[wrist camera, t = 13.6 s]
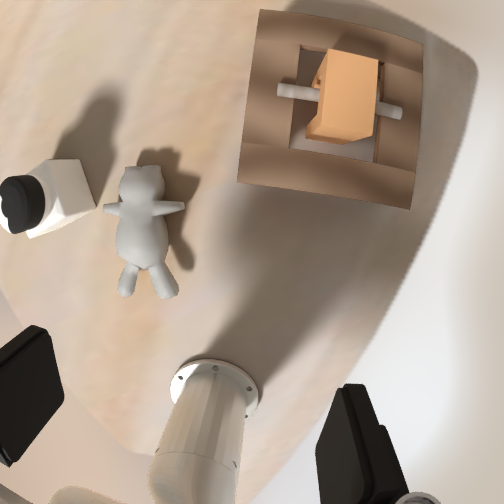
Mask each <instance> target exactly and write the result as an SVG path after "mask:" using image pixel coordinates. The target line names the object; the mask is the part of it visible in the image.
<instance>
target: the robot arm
mask: <svg viewBox="0 0 504 504" xmlns="http://www.w3.org/2000/svg"><path fill="white" fill-rule="evenodd" d="M171 396H172V399H173V401H174V403H175V404H174V407H173V409H172V412H171V414H170V417H169V419H168V422H167V424H166V427H165V430H164V432H163V435H162V437H161V440H160V442H159V445H158V447H157V450H156V452H155V455H154V458H153V460H152V463H151V465H150V469H149V471H148V477H147V482H148V488H149V492H150V495H151V497H152V499H153V501H154V503H155V504H235V500H236V492H237V483H238V475H239V467H240V459H241V450H242V442H243V433H244V424H245V421H246V420H248V419H249V418H250V417H251V416H252V415H253V414H254V412H255V411H256V409H257V405H258V398H259V397H258V390H257V387H256V384H255V383H254V381H253V380H252V378H251V377H250V376H249V375H248V374H247V373H246V372H244V371H243V370H242V369H240V368H239V367H237V366H235V365H233V364H230V363H228V362H225V361H220V360H215V359H202V360H196V361H192V362H189V363H187V364H186V365H184V366H182V367H181V368H180V369H179V370H178V371H177V372H176V374H175V375H174V378H173V380H172V382H171ZM63 401H64V391H63V388H62V384H61V380H60V376H59V372H58V367H57V363H56V358H55V354H54V349H53V344H52V339H51V336H50V335H49V334H48V331H47V330H46V329H44V328H41V327H38V326H35V325H31V326H29V327H28V328H26V329H25V330H24V331H22V332H21V333H20V334H19V335H17V336H16V337H15V338H13V339H12V340H11V341H9V342H8V343H7V344H5V345H4V346H3V347H2V348H0V462H1V463H3V464H4V465H6V466H8V467H10V466H11V465H12V464H13V462H17V461H18V460H19V459H20V457H21V456H22V455H23V453H24V452H25V451H26V449H27V448H28V447H29V445H30V444H31V443H32V441H33V440H34V439H35V438H36V436H37V435H38V434H39V432H40V431H41V430H42V429H43V427H44V426H45V425H46V424H47V422H48V421H49V420H50V418H51V417H52V416H53V414H54V413H55V412H56V411H57V410H58V408H59V407H60V406H61V405H62V403H63ZM315 451H316V452H315V456H316V465H317V474H318V483H319V491H320V502H321V504H441V503H440V502H439V501H438V500H437V499H436V498H435V497H433V496H432V495H430V494H427V493H423V492H413V493H409V490H408V487H407V484H406V481H405V478H404V475H403V472H402V470H401V467H400V464H399V461H398V458H397V456H396V453H395V450H394V447H393V445H392V442H391V439H390V436H389V434H388V431H387V429H386V427H385V426H384V425H379V422H378V420H377V417H376V414H375V411H374V409H373V406H372V403H371V401H370V398H369V395H368V393H367V390H366V387H365V386H364V385H363V384H345V385H344V386H343V388H338V389H337V391H336V394H335V397H334V399H333V402H332V405H331V408H330V411H329V413H328V416H327V419H326V422H325V424H324V427H323V429H322V432H321V435H320V437H319V440H318V442H317V445H316V450H315ZM0 504H33V503H31V502H29V501H27V500H25V499H24V498H22V497H20V496H19V495H17V494H16V493H14V492H13V491H11V490H9V489H8V488H6V487H5V486H3V485H2V484H0ZM49 504H125V503H123V502H120V501H117V500H115V499H112V498H110V497H107V496H104V495H101V494H99V493H97V492H94V491H92V490H89V489H86V488H82V487H78V486H68V487H64V488H62V489H60V490H59V491H57V492H56V493H55V494H54V495H53V497H52V498H51V500H50V502H49Z"/></svg>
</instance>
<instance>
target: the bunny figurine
mask: <svg viewBox="0 0 504 504" xmlns="http://www.w3.org/2000/svg"><path fill="white" fill-rule="evenodd" d="M119 194H120V197H121V199H122V201H123V202H116V203H110V204H104V205H103V212H106V213H109V214H112V215H115V216H118V217H121V218H120V221H119V224H118V226H117V232H116V249H117V254H118V255H120V256H121V257H122V258H123V259H125V260H126V261H127V262H126V265H125V267H124V269H123V272H122V274H121V277H120V279H119V282H118V289H117V290H118V292H119V294H120V295H122V296H124V297H128V296H131V295H132V294H133V292H134V289H135V285H136V280H137V275H138V271H139V268H141V269H144V270H145V269H148V271H149V274H150V277H151V280H152V283H153V286H154V288H155V291H156V293H157V295H158V296H159V297H160V298H162V299H169V298H172V297H174V296H176V295H177V294H178V292H179V287H178V284H177V282H176V280H175V279H174V277H173V275H172V274H171V272H170V270H169V269H168V267H167V265H166V264H165V259H166V255H167V252H168V246H169V237H168V229H167V224H166V221H165V219H164V217H163V216H164V215H168V214H171V213H174V212H177V211H180V210H184V209H185V206H184V202H177V201H162V199H163V196H164V194H165V181H164V178H163V175H162V173H161V166H159V165H145V166H143V167H139V166H132V167H125V173H124V175H123V177H122V178H121V181H120V184H119Z"/></svg>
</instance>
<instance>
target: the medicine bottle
mask: <svg viewBox="0 0 504 504" xmlns="http://www.w3.org/2000/svg"><path fill="white" fill-rule="evenodd" d="M95 208H96V205H95V203H94V200H93V197H92V194H91V192H90V189H89V186H88V183H87V180H86V177H85V174H84V171H83V168H82V165H81V162H80V160H79V159H47V160H45V161H44V162H42V163H41V164H40V165H38V166H37V167H36V168H34V169H33V170H32V171H30V172H29V173H28V174H26V175H21V176H11V177H8V178H6V179H5V180H4V181H3V182H2V184H1V185H0V223H1V225H2V226H3V227H4V228H5V229H6V230H7V231H8V232H10V233H13V234H17V233H21V232H24V231H26V232H27V235H28V237H29V238H34V237H36V236H39V235H42V234H45V233H48V232H51V231H54V230H56V229H59V228H62V227H63V226H65V225H67V224H69V223H71V222H72V221H74V220H76V219H78V218H80V217H82V216H83V215H85V214H87V213H89V212H91V211H93V210H94V209H95Z"/></svg>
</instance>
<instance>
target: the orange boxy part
mask: <svg viewBox="0 0 504 504" xmlns="http://www.w3.org/2000/svg"><path fill="white" fill-rule="evenodd" d="M377 75H378V60H376V59H372V58H369V57H365V56H360V55H356V54H352V53H348V52H343V51H338V50H333V49H328V51H327V53H326V55H325V57H324V59H323V61H322V63H321V65H320V67H319V69H318V71H317V73H316V75H315V77H314V79H313V81H312V85H311V87H312V88H318V89H320V93H319V102H318V111H317V115H316V116H315V117H314V118H313V119H312V120H311V122H310V123H309V124H308V125H307V128H306V136H305V138H306V139H312V140H318V141H324V142H329V143H335V144H340V145H342V144H345V143H349V142H352V141H355V140H359V139H362V138H366V137H369V136H372V133H373V124H374V114H375V102H376V90H377Z"/></svg>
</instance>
